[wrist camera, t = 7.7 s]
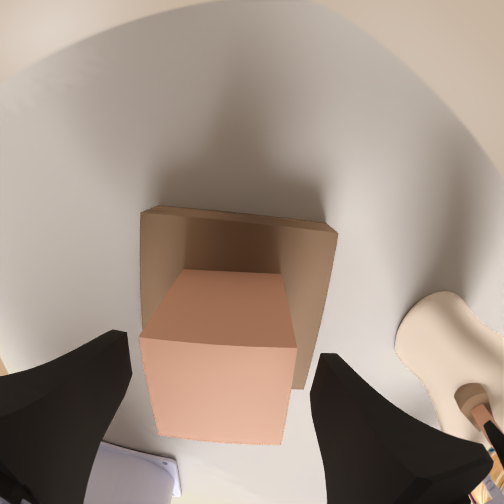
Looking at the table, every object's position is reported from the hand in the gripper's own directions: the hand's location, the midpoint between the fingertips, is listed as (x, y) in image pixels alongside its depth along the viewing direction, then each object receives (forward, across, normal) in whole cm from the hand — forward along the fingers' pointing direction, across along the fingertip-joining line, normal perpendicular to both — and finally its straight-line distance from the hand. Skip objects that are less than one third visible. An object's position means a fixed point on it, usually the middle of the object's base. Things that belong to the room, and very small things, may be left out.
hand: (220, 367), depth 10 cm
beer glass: (+7, -14, +2) cm, 15 cm away
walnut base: (+7, 0, 0) cm, 7 cm away
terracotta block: (+4, 0, 0) cm, 4 cm away
